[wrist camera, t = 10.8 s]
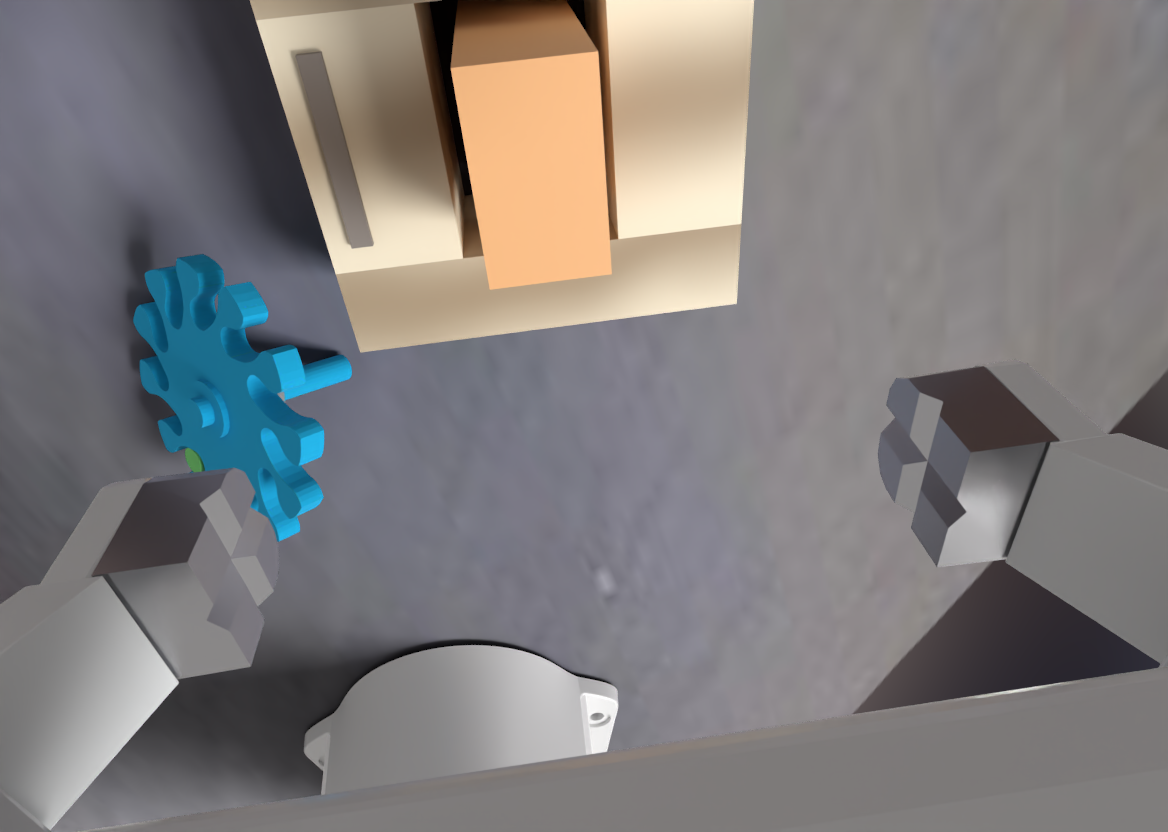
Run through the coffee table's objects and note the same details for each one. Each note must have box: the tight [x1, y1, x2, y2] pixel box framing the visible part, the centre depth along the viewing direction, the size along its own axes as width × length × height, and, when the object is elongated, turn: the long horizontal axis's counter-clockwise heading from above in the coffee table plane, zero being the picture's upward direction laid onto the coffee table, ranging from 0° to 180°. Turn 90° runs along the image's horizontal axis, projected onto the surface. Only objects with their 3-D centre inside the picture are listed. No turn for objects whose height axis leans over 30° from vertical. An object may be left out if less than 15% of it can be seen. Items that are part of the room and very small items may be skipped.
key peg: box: [451, 0, 612, 290], centre depth 20 cm, size 3×5×9 cm, turn 5°
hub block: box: [250, 0, 754, 352], centre depth 21 cm, size 12×12×5 cm
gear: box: [133, 254, 352, 542], centre depth 27 cm, size 11×6×10 cm
